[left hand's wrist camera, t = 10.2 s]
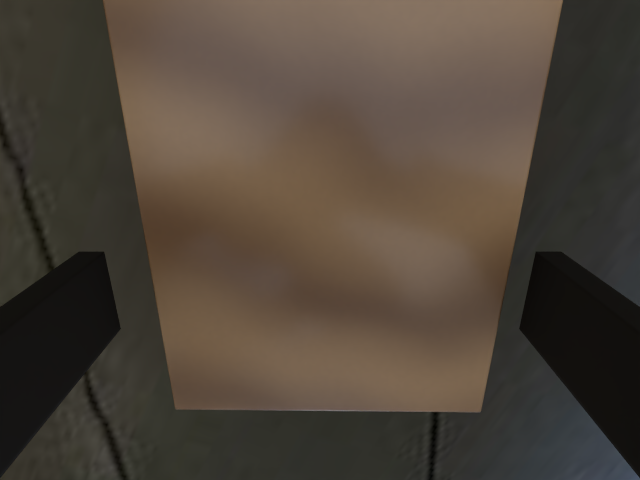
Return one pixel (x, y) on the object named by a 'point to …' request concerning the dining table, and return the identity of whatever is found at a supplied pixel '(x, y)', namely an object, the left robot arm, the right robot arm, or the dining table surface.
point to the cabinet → (330, 191)
